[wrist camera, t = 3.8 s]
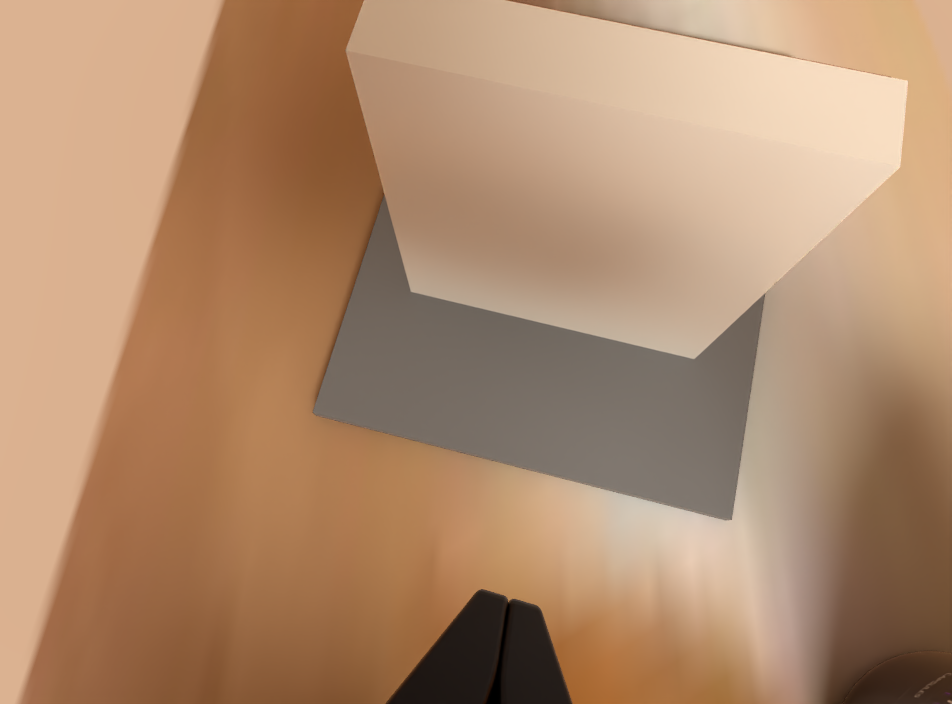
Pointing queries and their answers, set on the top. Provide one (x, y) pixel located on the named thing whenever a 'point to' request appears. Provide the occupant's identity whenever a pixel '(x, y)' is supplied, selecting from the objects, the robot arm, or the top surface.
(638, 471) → the mat
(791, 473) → the top surface
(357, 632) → the top surface
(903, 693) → the supplement bottle
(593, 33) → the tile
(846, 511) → the top surface
